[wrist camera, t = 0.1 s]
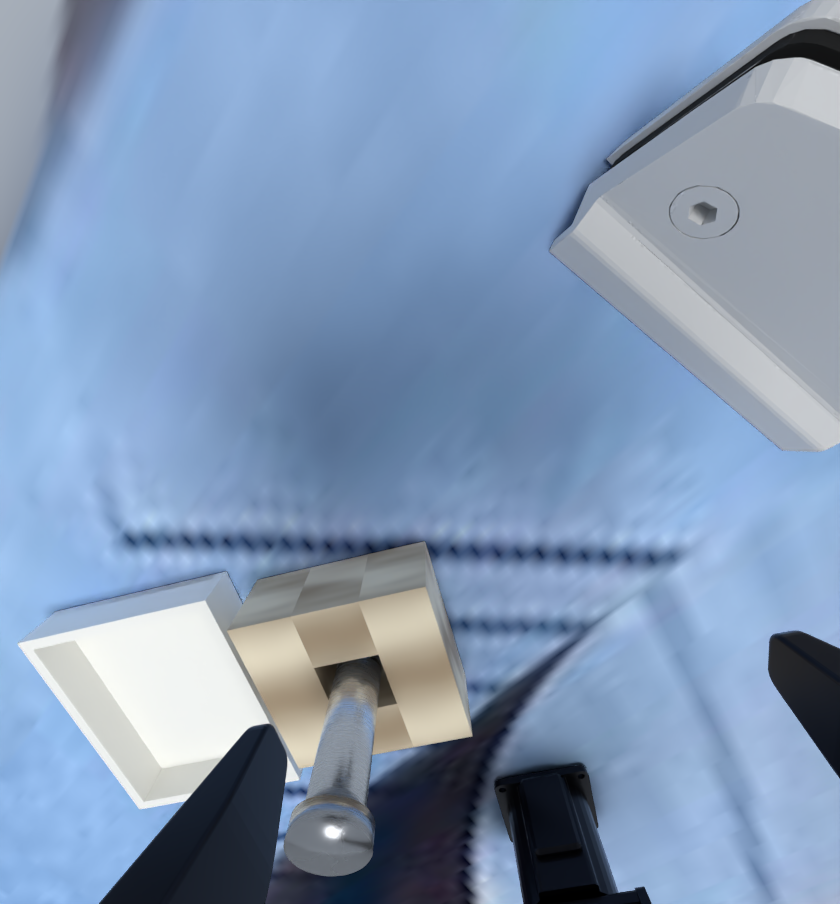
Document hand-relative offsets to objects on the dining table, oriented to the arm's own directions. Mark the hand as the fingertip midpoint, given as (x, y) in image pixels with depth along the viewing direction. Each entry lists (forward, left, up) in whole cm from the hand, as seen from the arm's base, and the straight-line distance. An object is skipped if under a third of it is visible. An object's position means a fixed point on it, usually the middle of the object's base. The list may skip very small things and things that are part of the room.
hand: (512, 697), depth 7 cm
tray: (-11, +20, -15) cm, 27 cm away
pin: (-10, +8, -15) cm, 19 cm away
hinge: (+4, -14, -15) cm, 21 cm away
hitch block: (-10, +8, -15) cm, 19 cm away
